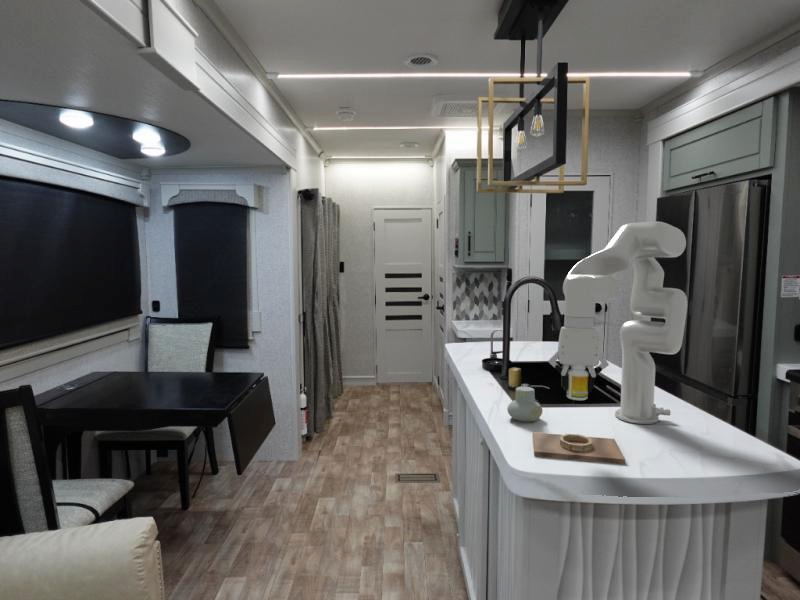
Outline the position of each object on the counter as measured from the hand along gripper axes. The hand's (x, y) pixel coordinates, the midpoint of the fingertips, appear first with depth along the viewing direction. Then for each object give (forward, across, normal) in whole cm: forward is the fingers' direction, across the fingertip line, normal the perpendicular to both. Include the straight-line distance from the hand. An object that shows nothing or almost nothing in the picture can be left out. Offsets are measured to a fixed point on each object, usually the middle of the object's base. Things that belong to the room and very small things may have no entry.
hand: (577, 389), depth 129 cm
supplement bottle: (+2, 0, 0) cm, 2 cm away
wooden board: (+16, 0, 0) cm, 16 cm away
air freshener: (+17, +13, -22) cm, 31 cm away
